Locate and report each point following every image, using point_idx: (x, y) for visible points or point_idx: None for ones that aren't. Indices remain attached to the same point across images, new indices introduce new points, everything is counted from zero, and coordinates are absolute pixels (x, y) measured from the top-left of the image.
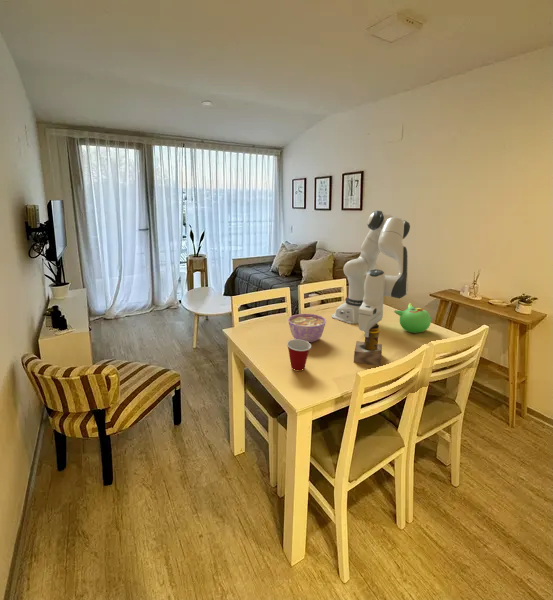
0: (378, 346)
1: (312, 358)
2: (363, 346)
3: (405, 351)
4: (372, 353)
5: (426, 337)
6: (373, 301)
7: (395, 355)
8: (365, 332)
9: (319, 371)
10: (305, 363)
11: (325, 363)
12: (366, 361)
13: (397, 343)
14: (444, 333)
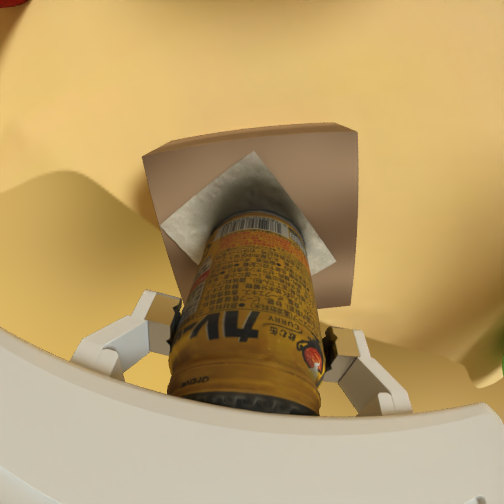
0: None
1: None
2: (259, 202)
3: (392, 338)
4: (175, 273)
5: (484, 359)
6: None
7: (346, 316)
8: (117, 330)
9: (27, 51)
10: (9, 1)
11: (94, 23)
12: None
13: (459, 305)
14: (493, 378)
